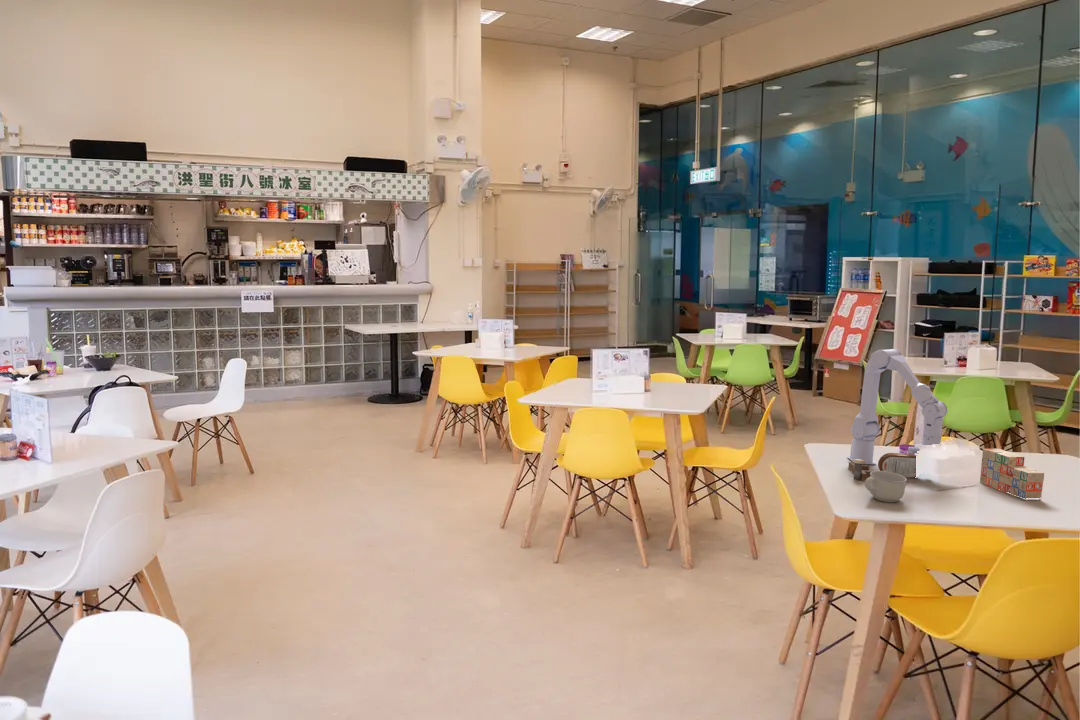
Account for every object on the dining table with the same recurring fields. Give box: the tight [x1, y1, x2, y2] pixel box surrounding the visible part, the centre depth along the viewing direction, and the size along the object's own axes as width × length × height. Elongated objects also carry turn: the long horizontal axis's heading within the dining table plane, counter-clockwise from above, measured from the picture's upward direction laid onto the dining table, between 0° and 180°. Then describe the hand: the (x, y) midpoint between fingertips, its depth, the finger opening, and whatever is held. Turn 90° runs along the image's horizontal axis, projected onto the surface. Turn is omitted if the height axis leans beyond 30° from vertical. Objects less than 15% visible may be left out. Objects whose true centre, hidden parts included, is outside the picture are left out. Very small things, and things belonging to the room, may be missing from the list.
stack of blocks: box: [979, 448, 1045, 499], centre depth 271 cm, size 21×6×12 cm, turn 9°
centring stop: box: [847, 459, 873, 482], centre depth 286 cm, size 16×8×7 cm, turn 175°
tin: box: [877, 452, 917, 479], centre depth 285 cm, size 15×3×8 cm, turn 84°
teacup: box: [864, 470, 908, 503], centre depth 256 cm, size 14×11×8 cm
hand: (928, 474), depth 284 cm, fingers closed
